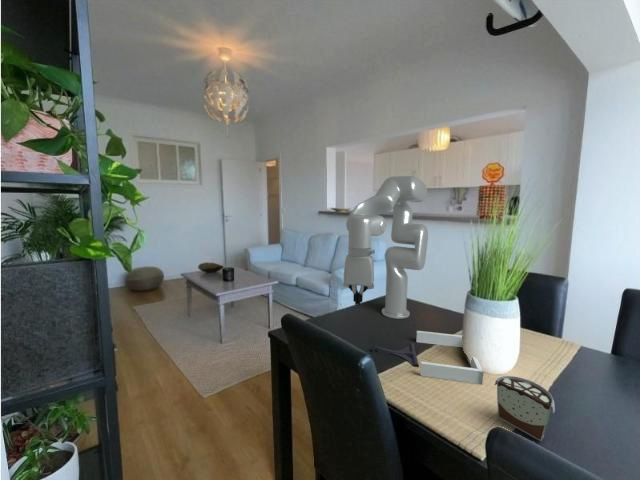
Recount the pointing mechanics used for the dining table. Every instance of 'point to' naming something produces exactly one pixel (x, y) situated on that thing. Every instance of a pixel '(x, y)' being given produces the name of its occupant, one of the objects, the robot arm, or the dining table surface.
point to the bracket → (401, 353)
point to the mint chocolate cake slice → (524, 405)
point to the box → (449, 371)
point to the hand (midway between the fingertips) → (357, 303)
